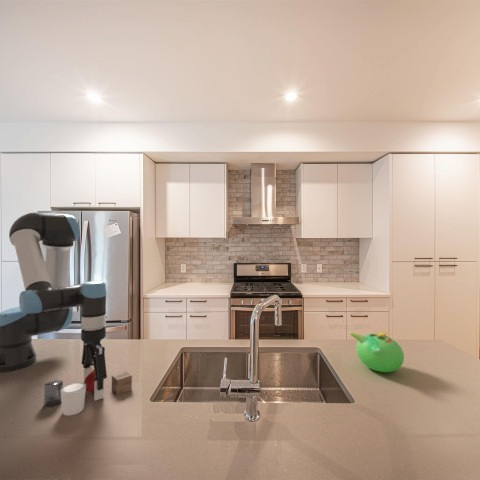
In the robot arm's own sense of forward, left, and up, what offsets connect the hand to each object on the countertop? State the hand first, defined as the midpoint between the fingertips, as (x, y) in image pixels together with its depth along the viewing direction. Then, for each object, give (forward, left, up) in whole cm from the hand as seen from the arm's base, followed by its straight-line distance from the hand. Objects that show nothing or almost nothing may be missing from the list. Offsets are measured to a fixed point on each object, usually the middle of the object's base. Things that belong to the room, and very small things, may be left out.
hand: (93, 392), depth 98 cm
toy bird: (+61, +89, -1) cm, 108 cm away
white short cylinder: (+6, -8, -1) cm, 10 cm away
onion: (0, 0, -1) cm, 1 cm away
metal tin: (-3, -11, 0) cm, 11 cm away
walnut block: (+4, +8, 0) cm, 9 cm away
